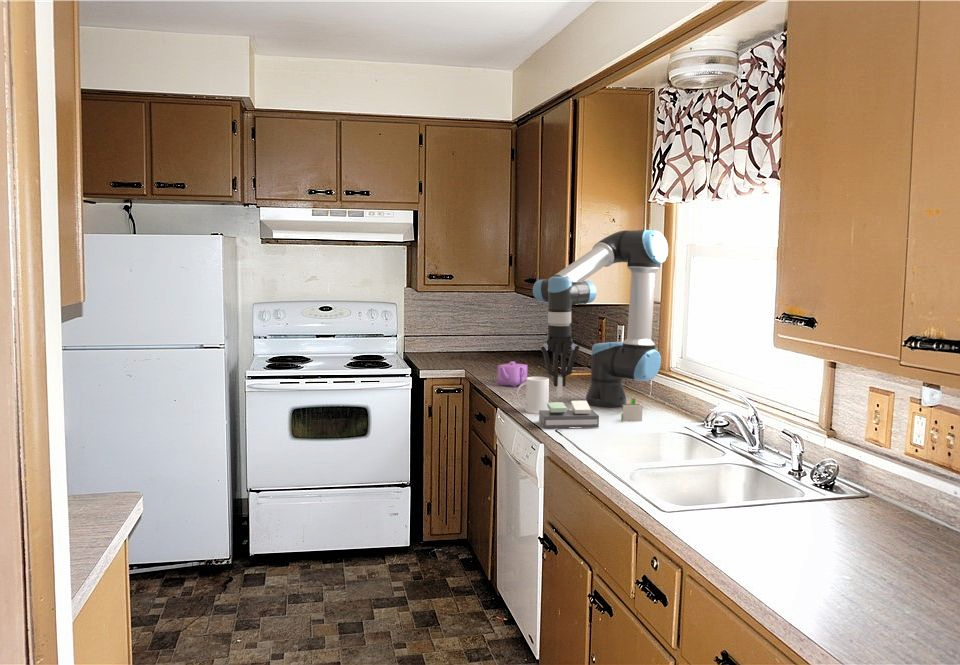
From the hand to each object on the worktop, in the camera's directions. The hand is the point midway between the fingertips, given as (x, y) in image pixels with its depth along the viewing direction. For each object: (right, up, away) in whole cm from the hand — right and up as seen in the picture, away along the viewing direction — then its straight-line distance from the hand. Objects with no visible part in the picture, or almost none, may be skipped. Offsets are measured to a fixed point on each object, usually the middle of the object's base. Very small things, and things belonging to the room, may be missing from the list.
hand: (559, 396), depth 265 cm
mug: (-7, -8, +25) cm, 27 cm away
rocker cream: (+7, -5, +4) cm, 9 cm away
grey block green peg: (+26, -10, +11) cm, 30 cm away
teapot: (-13, -2, +78) cm, 79 cm away
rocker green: (-1, -5, +3) cm, 6 cm away
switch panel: (+3, -10, +4) cm, 11 cm away
